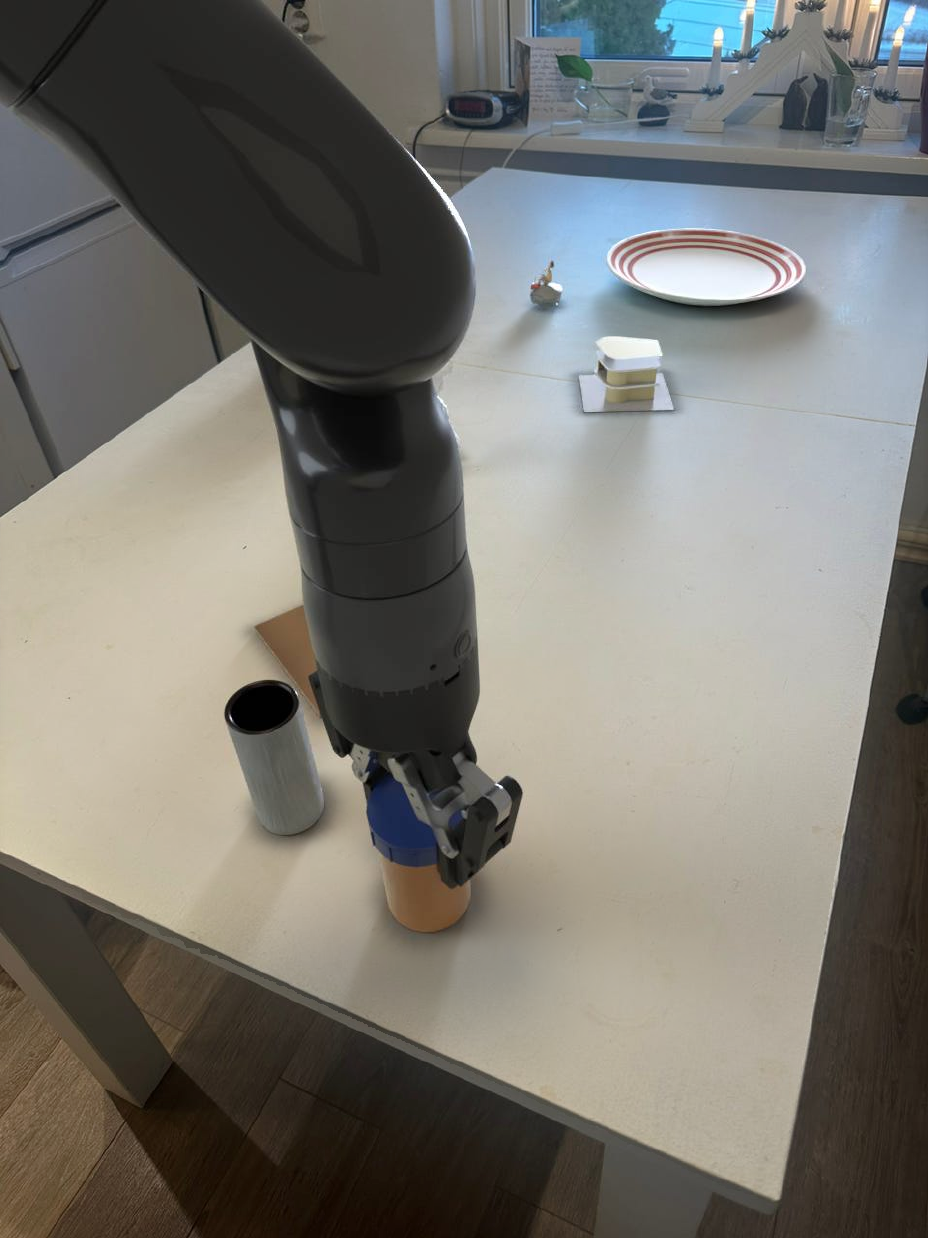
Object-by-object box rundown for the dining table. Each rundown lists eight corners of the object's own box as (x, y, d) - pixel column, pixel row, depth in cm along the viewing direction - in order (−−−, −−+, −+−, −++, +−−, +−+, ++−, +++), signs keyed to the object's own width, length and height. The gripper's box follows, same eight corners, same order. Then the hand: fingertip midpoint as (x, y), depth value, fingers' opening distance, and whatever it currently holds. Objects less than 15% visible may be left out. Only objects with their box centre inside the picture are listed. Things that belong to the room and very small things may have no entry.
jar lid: (415, 886, 46) (413, 868, 45) (349, 825, 50) (345, 806, 48) (490, 823, 49) (489, 804, 48) (423, 768, 52) (420, 749, 51)
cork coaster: (320, 718, 65) (318, 713, 65) (255, 631, 73) (253, 625, 73) (453, 652, 70) (453, 646, 70) (379, 576, 78) (378, 571, 77)
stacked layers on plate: (662, 373, 104) (667, 328, 101) (673, 410, 98) (679, 364, 94) (578, 375, 105) (580, 331, 101) (584, 412, 98) (586, 366, 94)
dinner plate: (783, 247, 133) (788, 224, 131) (821, 321, 113) (827, 295, 111) (602, 249, 136) (603, 226, 134) (607, 321, 116) (608, 297, 114)
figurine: (563, 311, 119) (565, 266, 115) (531, 313, 119) (531, 268, 115) (559, 296, 123) (561, 252, 119) (528, 297, 123) (528, 254, 119)
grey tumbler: (326, 830, 58) (300, 727, 51) (257, 841, 58) (222, 739, 51) (323, 776, 61) (298, 673, 54) (258, 787, 61) (224, 684, 54)
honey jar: (405, 946, 52) (390, 865, 46) (375, 876, 55) (358, 793, 50) (484, 912, 53) (479, 829, 47) (450, 846, 57) (442, 761, 51)
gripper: (235, 597, 42) (297, 811, 53) (442, 759, 34) (463, 971, 45) (357, 528, 45) (390, 742, 56) (569, 660, 37) (559, 878, 48)
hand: (422, 842), depth 51 cm, fingers closed on jar lid, 5 cm apart
